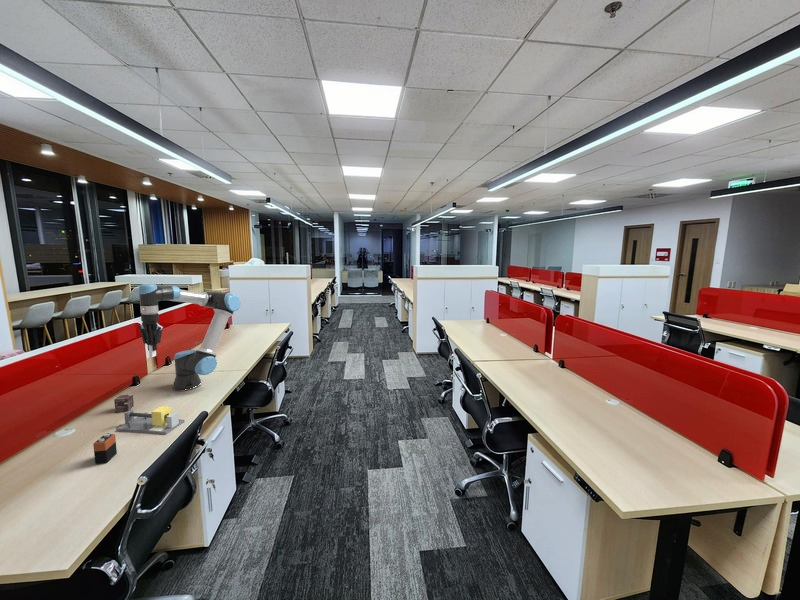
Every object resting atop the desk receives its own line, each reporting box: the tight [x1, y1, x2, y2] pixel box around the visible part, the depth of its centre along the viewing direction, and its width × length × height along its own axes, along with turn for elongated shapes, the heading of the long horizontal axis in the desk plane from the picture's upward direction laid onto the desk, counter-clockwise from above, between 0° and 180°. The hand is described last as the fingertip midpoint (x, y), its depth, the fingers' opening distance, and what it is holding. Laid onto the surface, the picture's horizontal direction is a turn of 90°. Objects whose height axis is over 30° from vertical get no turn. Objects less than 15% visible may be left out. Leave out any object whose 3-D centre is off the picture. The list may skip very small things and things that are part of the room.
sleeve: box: [150, 405, 172, 426], centre depth 160 cm, size 6×5×7 cm
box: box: [114, 394, 135, 413], centre depth 177 cm, size 6×6×7 cm
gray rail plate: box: [116, 409, 185, 436], centre depth 161 cm, size 12×25×7 cm, turn 85°
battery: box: [92, 432, 118, 465], centre depth 135 cm, size 4×7×10 cm, turn 13°
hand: (152, 356), depth 176 cm, fingers closed
